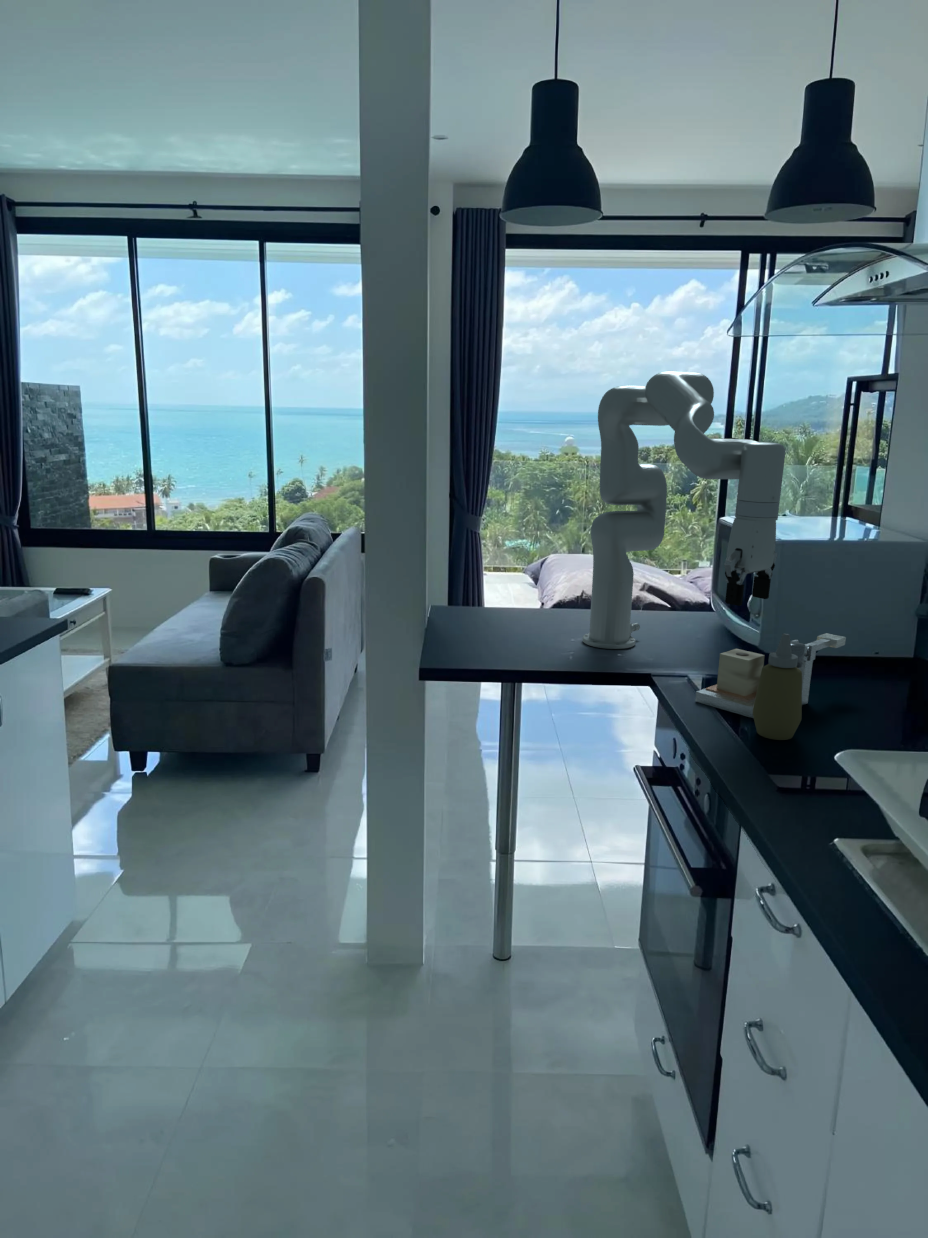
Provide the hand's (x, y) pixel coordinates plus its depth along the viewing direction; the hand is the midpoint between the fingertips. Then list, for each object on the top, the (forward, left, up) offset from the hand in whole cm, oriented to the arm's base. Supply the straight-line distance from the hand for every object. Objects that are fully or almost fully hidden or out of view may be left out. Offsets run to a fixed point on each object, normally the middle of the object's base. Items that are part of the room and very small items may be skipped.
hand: (747, 601), depth 164 cm
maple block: (0, 0, -17) cm, 17 cm away
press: (-1, +2, -20) cm, 20 cm away
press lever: (-12, +8, -11) cm, 18 cm away
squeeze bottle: (+12, +14, -20) cm, 27 cm away
